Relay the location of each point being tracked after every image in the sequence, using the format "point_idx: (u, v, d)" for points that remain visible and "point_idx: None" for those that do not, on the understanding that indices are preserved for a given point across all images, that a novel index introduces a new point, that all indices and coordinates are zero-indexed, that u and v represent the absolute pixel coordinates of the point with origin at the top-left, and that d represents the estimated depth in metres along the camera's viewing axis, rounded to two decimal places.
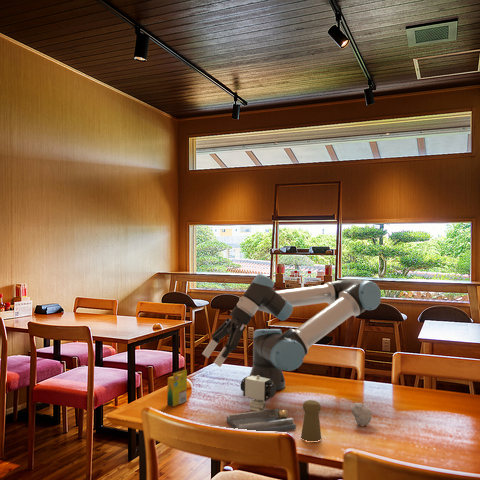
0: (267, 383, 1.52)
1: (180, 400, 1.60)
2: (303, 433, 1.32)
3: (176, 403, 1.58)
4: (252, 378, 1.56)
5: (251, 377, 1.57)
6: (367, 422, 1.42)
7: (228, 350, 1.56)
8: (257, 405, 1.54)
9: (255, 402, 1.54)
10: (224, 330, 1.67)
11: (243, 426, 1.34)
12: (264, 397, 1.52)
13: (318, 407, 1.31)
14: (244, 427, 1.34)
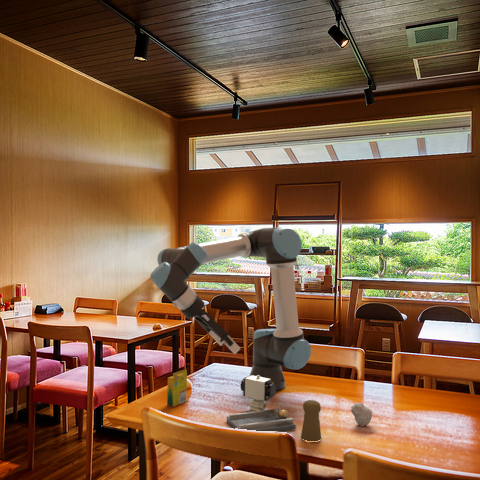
0: (267, 383, 1.52)
1: (180, 400, 1.60)
2: (303, 433, 1.32)
3: (176, 403, 1.58)
4: (252, 378, 1.56)
5: (251, 377, 1.57)
6: (367, 422, 1.42)
7: (226, 339, 1.43)
8: (257, 405, 1.54)
9: (255, 402, 1.54)
10: (203, 323, 1.52)
11: (243, 426, 1.34)
12: (264, 397, 1.52)
13: (318, 407, 1.31)
14: (244, 427, 1.34)
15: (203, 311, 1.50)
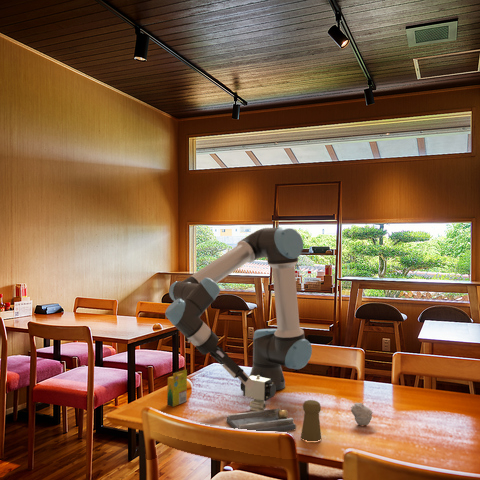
0: (267, 383, 1.52)
1: (180, 400, 1.60)
2: (303, 433, 1.32)
3: (176, 403, 1.58)
4: (252, 378, 1.56)
5: (251, 377, 1.57)
6: (367, 422, 1.42)
7: (241, 375, 1.44)
8: (257, 405, 1.54)
9: (255, 402, 1.54)
10: None
11: (243, 426, 1.34)
12: (264, 397, 1.52)
13: (318, 407, 1.31)
14: (244, 427, 1.34)
15: (217, 346, 1.51)
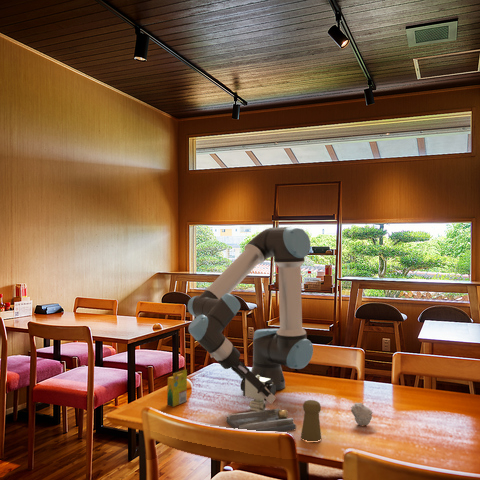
0: (267, 383, 1.52)
1: (180, 400, 1.60)
2: (303, 433, 1.32)
3: (176, 403, 1.58)
4: None
5: None
6: (367, 422, 1.42)
7: (263, 390, 1.49)
8: (257, 405, 1.54)
9: (255, 402, 1.54)
10: None
11: (243, 426, 1.34)
12: None
13: (318, 407, 1.31)
14: (244, 427, 1.34)
15: (238, 360, 1.54)
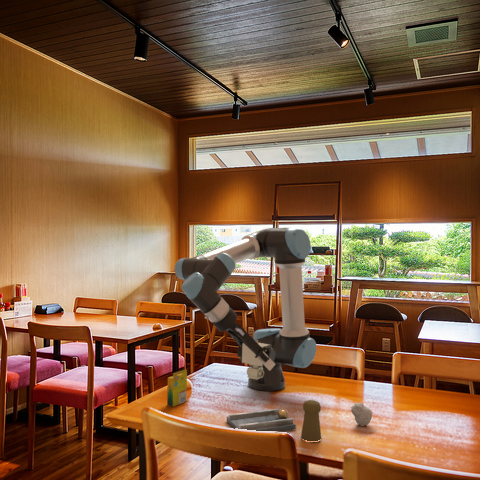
0: (266, 348, 1.41)
1: (180, 400, 1.60)
2: (303, 433, 1.32)
3: (176, 403, 1.58)
4: None
5: None
6: (367, 422, 1.42)
7: (261, 355, 1.38)
8: (255, 372, 1.43)
9: (253, 369, 1.43)
10: None
11: (243, 426, 1.34)
12: (262, 363, 1.40)
13: (318, 407, 1.31)
14: (244, 427, 1.34)
15: (235, 323, 1.43)
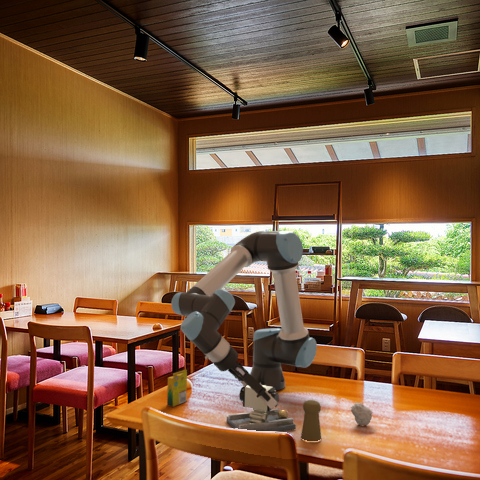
0: (270, 392, 1.38)
1: (180, 400, 1.60)
2: (303, 433, 1.32)
3: (176, 403, 1.58)
4: None
5: None
6: (367, 422, 1.42)
7: (263, 394, 1.33)
8: (259, 416, 1.39)
9: (256, 413, 1.39)
10: None
11: (243, 426, 1.34)
12: (267, 407, 1.37)
13: (318, 407, 1.31)
14: (244, 427, 1.34)
15: (236, 362, 1.40)
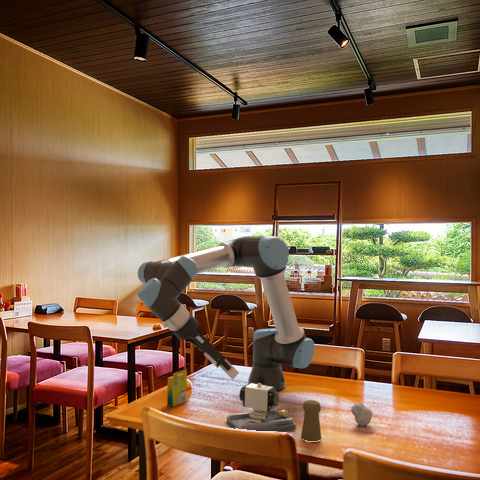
0: (270, 392, 1.38)
1: (180, 400, 1.60)
2: (303, 433, 1.32)
3: (176, 403, 1.58)
4: (253, 386, 1.41)
5: (251, 385, 1.42)
6: (367, 422, 1.42)
7: (223, 363, 1.29)
8: (259, 416, 1.39)
9: (256, 413, 1.39)
10: None
11: (243, 426, 1.34)
12: (267, 407, 1.37)
13: (318, 407, 1.31)
14: (244, 427, 1.34)
15: (197, 331, 1.36)
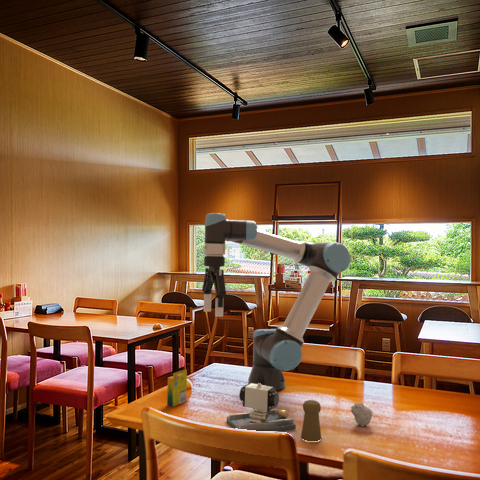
0: (270, 392, 1.38)
1: (180, 400, 1.60)
2: (303, 433, 1.32)
3: (176, 403, 1.58)
4: (253, 386, 1.41)
5: (251, 385, 1.42)
6: (367, 422, 1.42)
7: (220, 299, 1.56)
8: (259, 416, 1.39)
9: (256, 413, 1.39)
10: (209, 281, 1.67)
11: (243, 426, 1.34)
12: (267, 407, 1.37)
13: (318, 407, 1.31)
14: (244, 427, 1.34)
15: None
